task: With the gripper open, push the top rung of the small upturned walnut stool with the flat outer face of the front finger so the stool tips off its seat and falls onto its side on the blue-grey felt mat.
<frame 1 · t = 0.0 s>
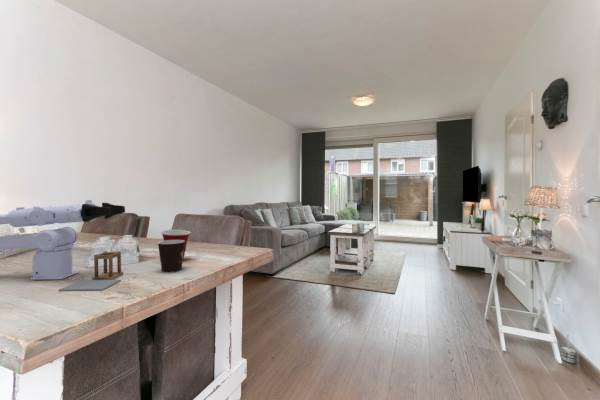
hand: (117, 209, 91), 22 cm above the table, tool horizontal, fingers open, 7 cm apart
plastic cup: (176, 261, 113), on the table
felt mat: (91, 285, 82), on the table
coffee mug: (174, 269, 101), on the table
stool: (108, 277, 90), on the table
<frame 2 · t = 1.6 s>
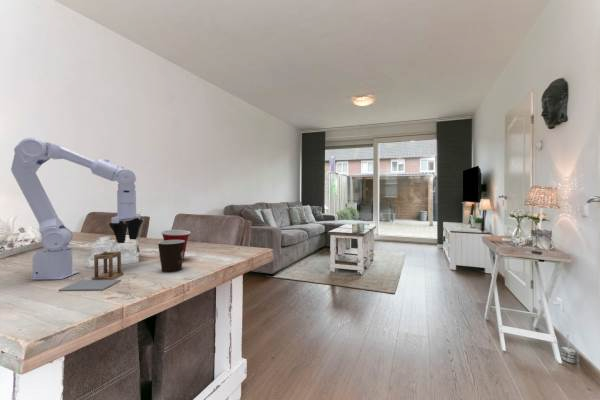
hand: (127, 241, 101), 10 cm above the table, tool pointing down, fingers open, 7 cm apart
nothing on the table moved.
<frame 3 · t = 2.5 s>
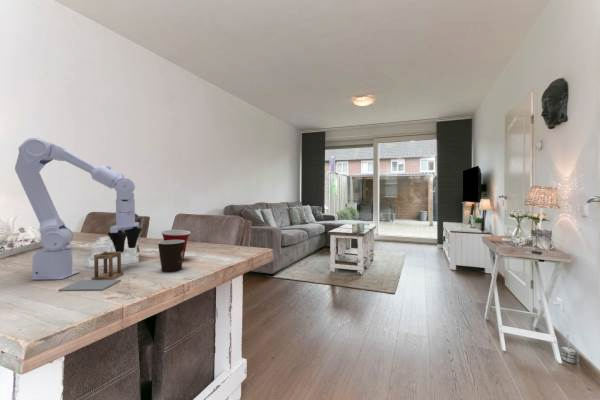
hand: (126, 250, 100), 7 cm above the table, tool pointing down, fingers open, 7 cm apart
nothing on the table moved.
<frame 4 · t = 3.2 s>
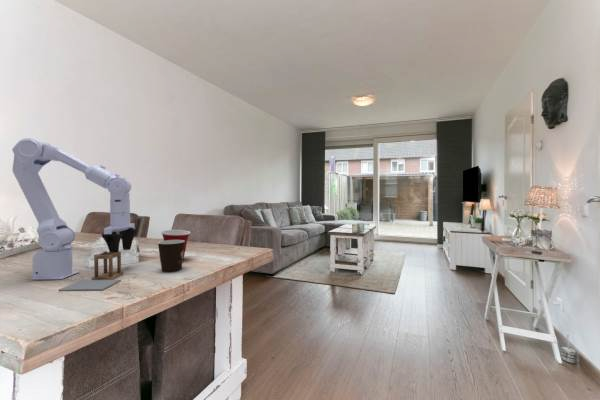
hand: (120, 252, 97), 7 cm above the table, tool pointing down, fingers open, 7 cm apart
stool: (108, 277, 90), on the table, touching gripper
everything else where it was.
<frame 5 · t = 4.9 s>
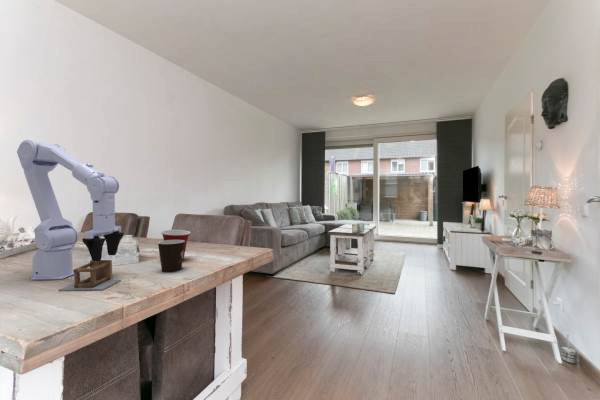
hand: (104, 257, 88), 7 cm above the table, tool pointing down, fingers open, 7 cm apart
stool: (102, 269, 87), point 3 cm above the table, tilted 92°, touching felt mat
everything else where it was.
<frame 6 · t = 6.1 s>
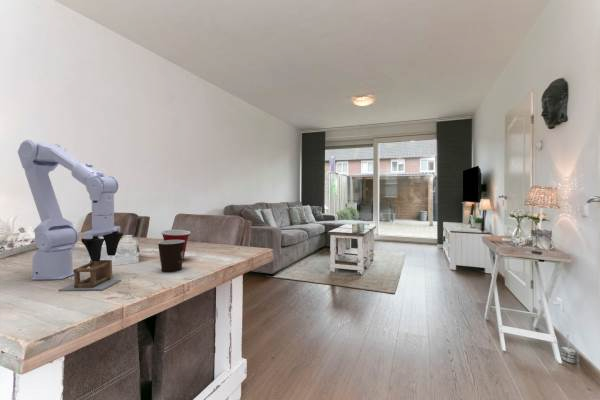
hand: (103, 258, 88), 7 cm above the table, tool pointing down, fingers open, 7 cm apart
nothing on the table moved.
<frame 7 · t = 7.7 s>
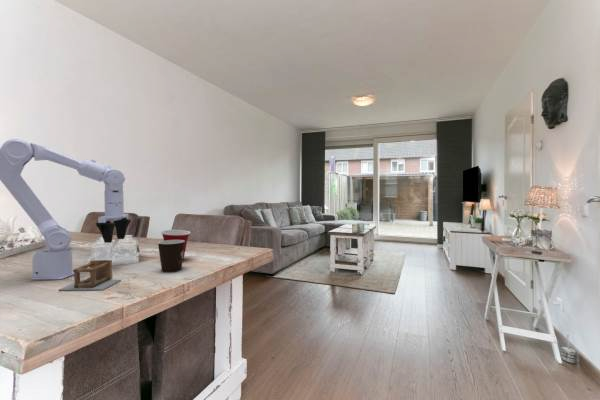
hand: (114, 240, 101), 10 cm above the table, tool pointing down, fingers open, 7 cm apart
nothing on the table moved.
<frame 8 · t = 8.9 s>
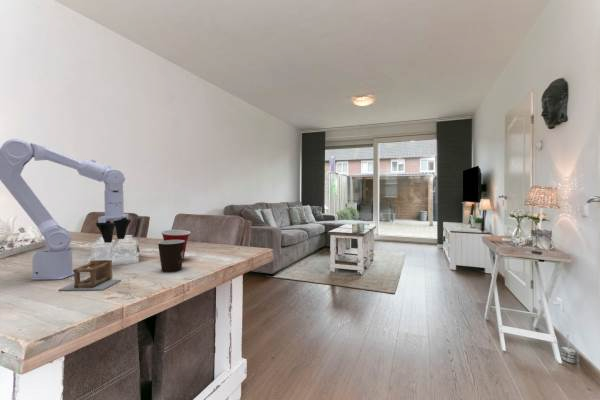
hand: (114, 240, 101), 10 cm above the table, tool pointing down, fingers open, 7 cm apart
nothing on the table moved.
at the end: stool tilted 92°; stool inside the target area (5.1 cm from its centre), point 3.4 cm above the table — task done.
